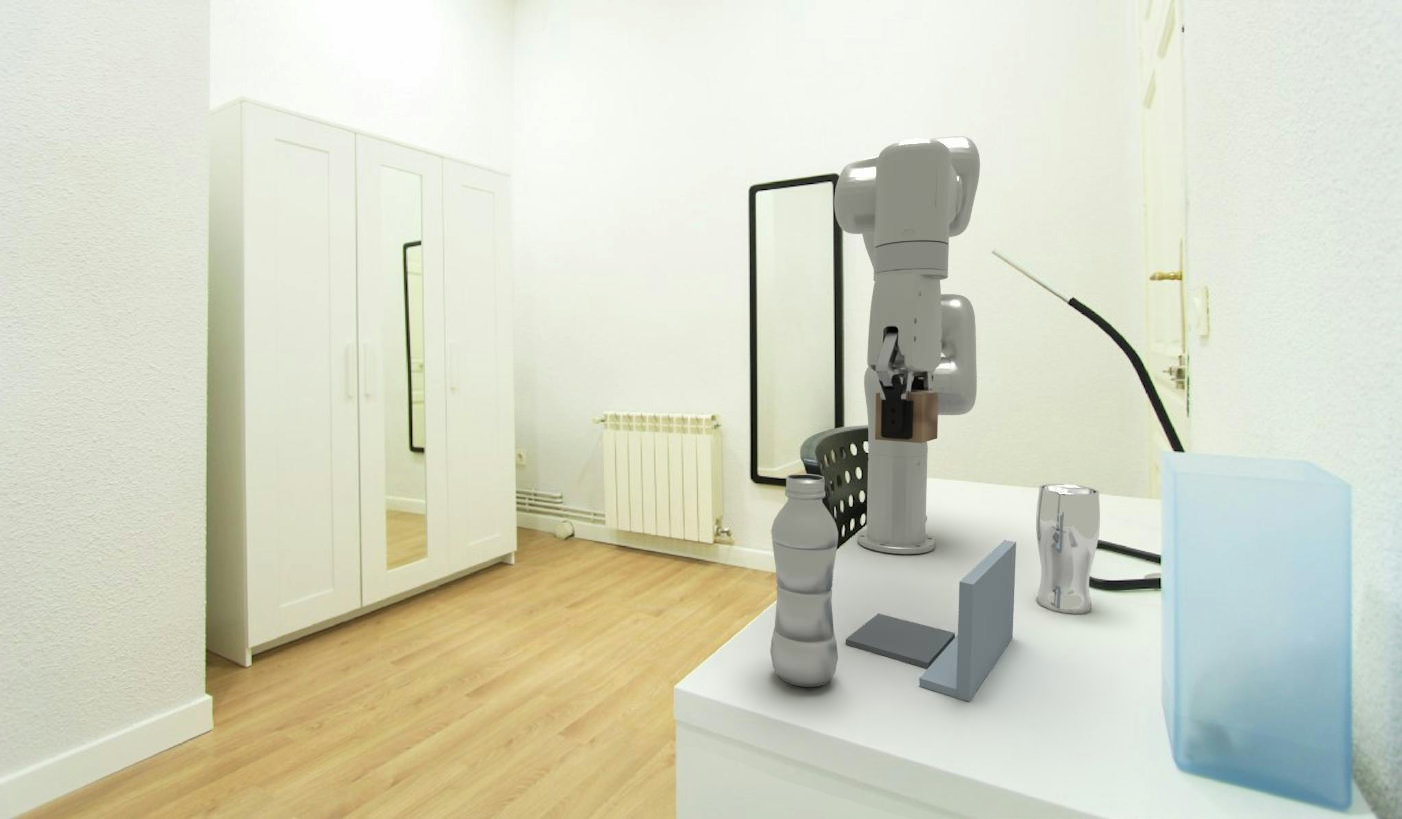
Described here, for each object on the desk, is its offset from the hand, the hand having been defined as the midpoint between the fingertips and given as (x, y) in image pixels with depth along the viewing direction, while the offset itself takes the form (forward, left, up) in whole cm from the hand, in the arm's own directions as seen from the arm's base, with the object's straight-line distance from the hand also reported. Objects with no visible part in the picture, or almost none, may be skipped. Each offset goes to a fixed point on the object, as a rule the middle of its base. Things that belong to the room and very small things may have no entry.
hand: (906, 433), depth 69 cm
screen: (0, +7, -23) cm, 24 cm away
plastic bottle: (+14, -5, -23) cm, 28 cm away
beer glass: (-23, +12, -23) cm, 35 cm away
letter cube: (0, 0, -1) cm, 1 cm away
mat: (0, 0, -23) cm, 23 cm away
